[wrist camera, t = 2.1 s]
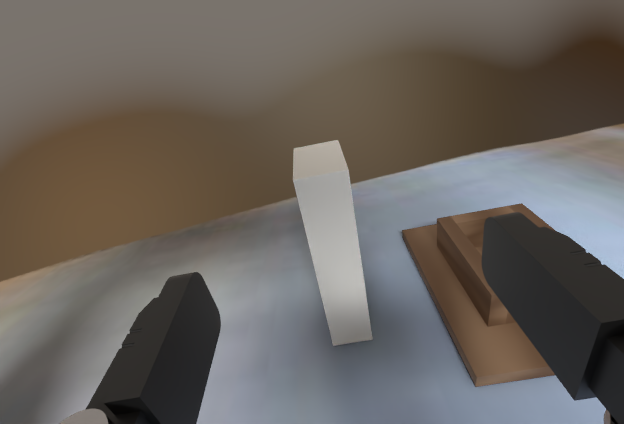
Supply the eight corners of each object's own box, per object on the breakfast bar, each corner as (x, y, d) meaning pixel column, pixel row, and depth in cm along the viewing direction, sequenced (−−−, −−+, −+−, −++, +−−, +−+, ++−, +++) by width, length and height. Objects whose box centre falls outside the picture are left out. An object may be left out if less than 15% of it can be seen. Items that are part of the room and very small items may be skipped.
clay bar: (333, 345, 24) (293, 180, 17) (327, 297, 29) (293, 148, 22) (372, 339, 24) (348, 169, 17) (361, 291, 29) (337, 139, 22)
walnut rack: (475, 386, 20) (480, 345, 18) (402, 238, 34) (400, 205, 32) (679, 356, 19) (707, 310, 17) (520, 217, 33) (525, 182, 31)
